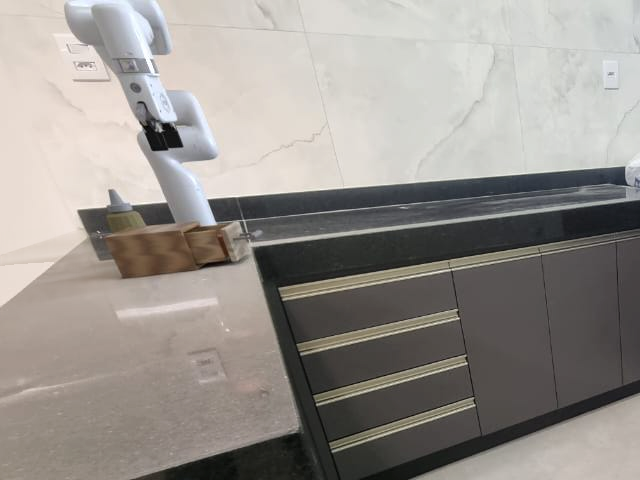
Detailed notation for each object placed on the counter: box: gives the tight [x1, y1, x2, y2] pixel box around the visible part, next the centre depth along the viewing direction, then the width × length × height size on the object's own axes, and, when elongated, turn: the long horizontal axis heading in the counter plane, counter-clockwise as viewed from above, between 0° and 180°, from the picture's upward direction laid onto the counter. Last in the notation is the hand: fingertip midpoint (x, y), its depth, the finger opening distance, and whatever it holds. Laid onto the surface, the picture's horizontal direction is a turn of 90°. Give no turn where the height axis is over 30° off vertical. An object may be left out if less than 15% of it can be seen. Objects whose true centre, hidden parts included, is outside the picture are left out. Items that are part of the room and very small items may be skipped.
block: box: [217, 234, 229, 255], centre depth 132 cm, size 5×5×5 cm
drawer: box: [183, 221, 264, 264], centre depth 132 cm, size 18×11×8 cm, turn 111°
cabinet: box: [102, 221, 207, 279], centre depth 129 cm, size 15×13×10 cm
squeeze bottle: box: [105, 188, 147, 234], centre depth 136 cm, size 8×8×18 cm
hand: (168, 149), depth 128 cm, fingers open, 9 cm apart
